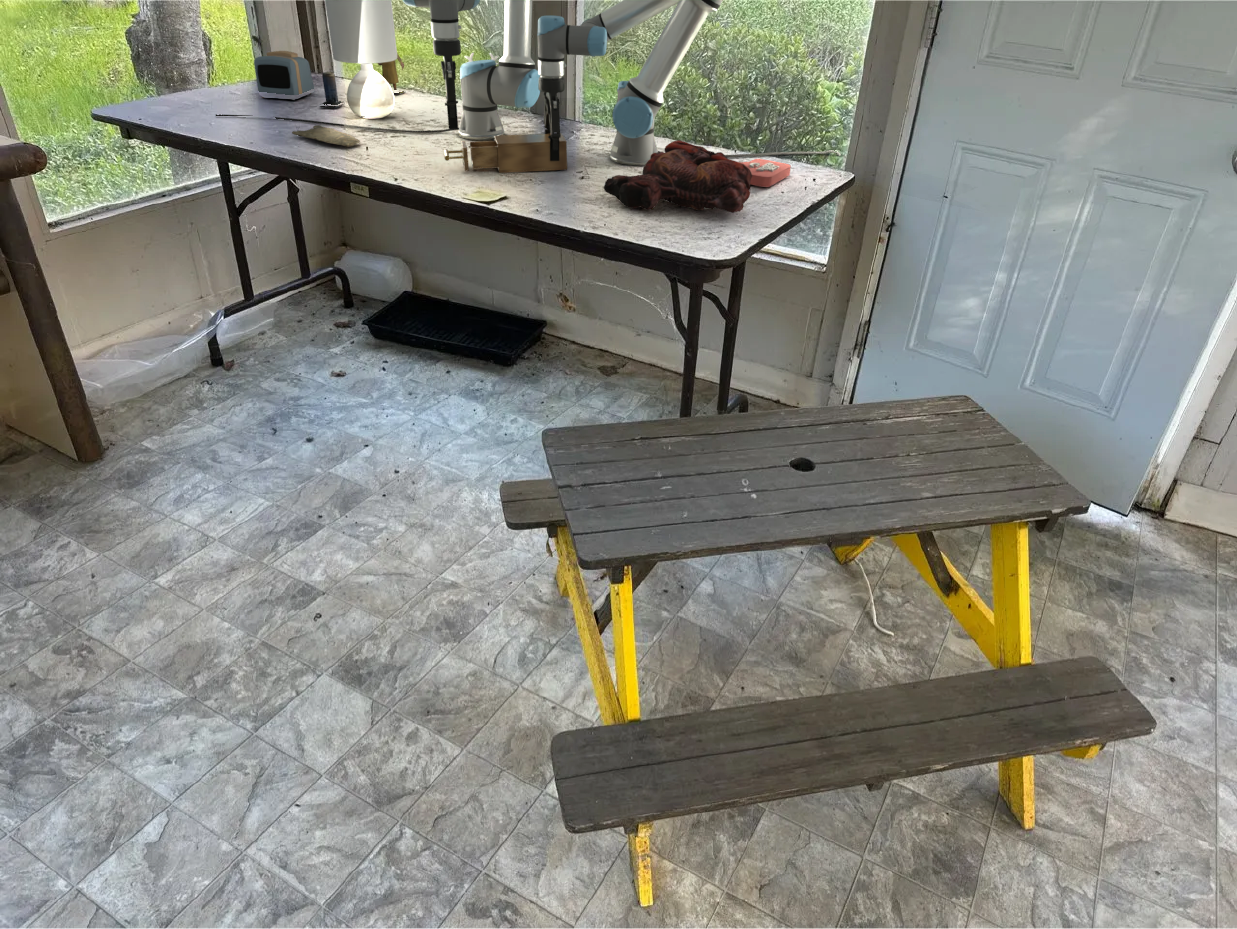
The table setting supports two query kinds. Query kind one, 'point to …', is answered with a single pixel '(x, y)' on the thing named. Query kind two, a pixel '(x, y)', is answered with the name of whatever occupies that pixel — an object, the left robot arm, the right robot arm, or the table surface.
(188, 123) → the table surface
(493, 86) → the left robot arm
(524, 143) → the cabinet
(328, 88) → the beverage can
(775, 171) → the plaque
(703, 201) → the sculpture
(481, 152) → the drawer
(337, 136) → the stone tool
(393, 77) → the figurine
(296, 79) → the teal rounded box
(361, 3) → the lamp
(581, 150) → the table surface
